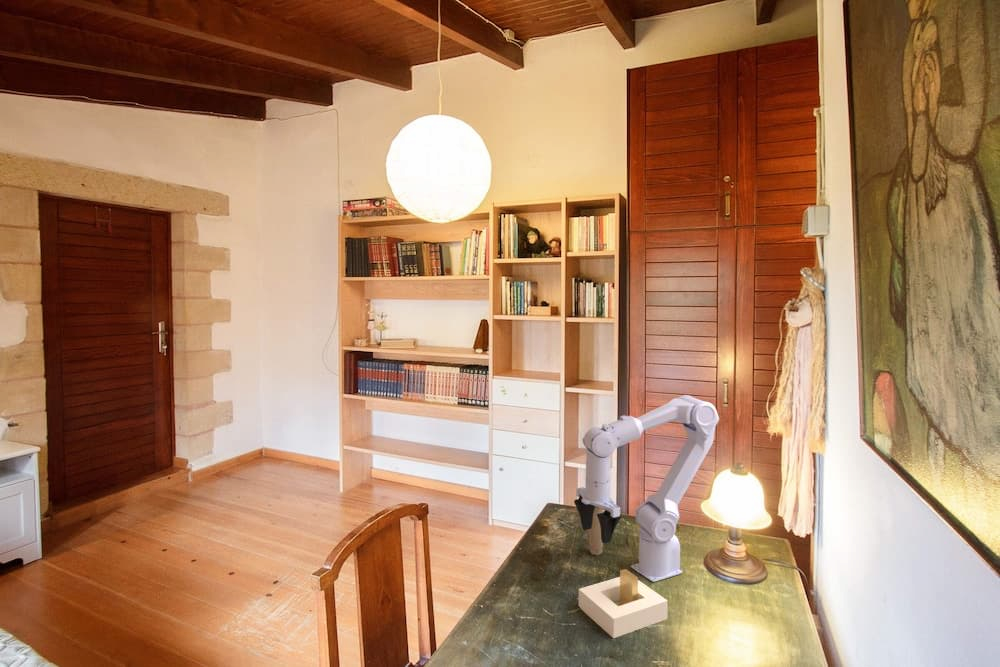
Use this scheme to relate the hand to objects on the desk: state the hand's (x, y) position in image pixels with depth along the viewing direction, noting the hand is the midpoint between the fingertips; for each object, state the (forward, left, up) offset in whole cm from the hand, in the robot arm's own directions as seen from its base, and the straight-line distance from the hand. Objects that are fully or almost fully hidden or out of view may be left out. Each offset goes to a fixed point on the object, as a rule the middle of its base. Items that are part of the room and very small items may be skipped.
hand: (596, 535), depth 127 cm
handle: (-7, -10, -11) cm, 16 cm away
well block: (+4, +14, -10) cm, 18 cm away
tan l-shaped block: (+4, +14, -11) cm, 18 cm away
